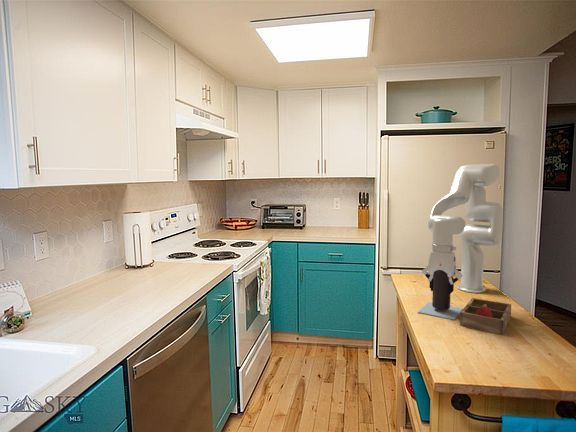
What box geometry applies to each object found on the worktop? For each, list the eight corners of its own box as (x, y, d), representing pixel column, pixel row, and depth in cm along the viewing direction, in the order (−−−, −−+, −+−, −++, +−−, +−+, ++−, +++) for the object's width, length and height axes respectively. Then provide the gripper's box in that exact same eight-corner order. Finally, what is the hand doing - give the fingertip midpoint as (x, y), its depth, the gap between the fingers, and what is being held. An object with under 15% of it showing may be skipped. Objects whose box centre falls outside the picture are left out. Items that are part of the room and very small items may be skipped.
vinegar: (429, 304, 159) (430, 257, 157) (446, 304, 159) (447, 257, 156) (435, 310, 152) (436, 261, 150) (452, 309, 152) (454, 261, 150)
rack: (471, 309, 157) (472, 297, 156) (510, 316, 148) (511, 304, 148) (460, 325, 141) (460, 312, 140) (502, 334, 133) (503, 320, 132)
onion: (484, 329, 137) (485, 308, 136) (471, 323, 142) (472, 303, 141) (496, 326, 139) (496, 305, 138) (482, 321, 144) (483, 300, 144)
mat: (428, 303, 165) (428, 302, 165) (462, 309, 157) (463, 308, 157) (417, 312, 154) (418, 311, 154) (454, 320, 146) (454, 319, 146)
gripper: (467, 249, 151) (466, 292, 153) (423, 244, 161) (422, 285, 163) (463, 252, 145) (461, 297, 147) (417, 248, 155) (417, 290, 157)
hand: (441, 291), depth 155 cm, fingers closed on vinegar, 6 cm apart
